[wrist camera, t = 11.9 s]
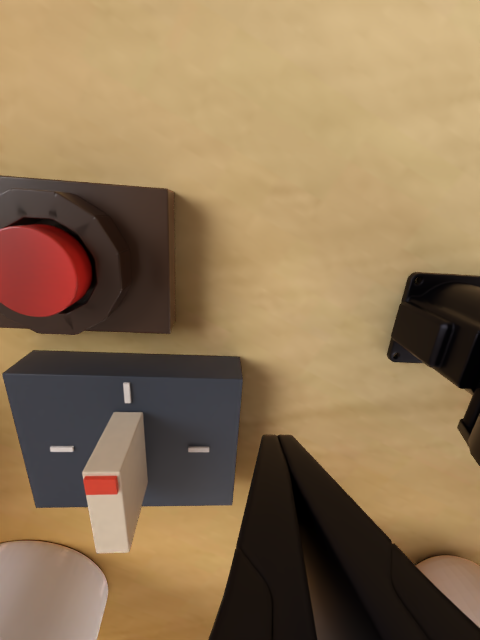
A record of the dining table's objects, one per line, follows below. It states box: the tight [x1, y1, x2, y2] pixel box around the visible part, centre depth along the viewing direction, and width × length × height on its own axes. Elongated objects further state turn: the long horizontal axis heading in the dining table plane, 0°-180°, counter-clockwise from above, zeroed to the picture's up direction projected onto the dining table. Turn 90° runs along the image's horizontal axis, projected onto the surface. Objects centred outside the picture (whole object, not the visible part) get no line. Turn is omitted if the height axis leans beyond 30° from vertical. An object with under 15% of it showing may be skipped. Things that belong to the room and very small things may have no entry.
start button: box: [0, 224, 93, 317], centre depth 13 cm, size 4×4×2 cm
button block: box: [0, 176, 175, 335], centre depth 16 cm, size 11×8×4 cm
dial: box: [82, 412, 148, 553], centre depth 17 cm, size 6×2×5 cm, turn 177°
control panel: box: [2, 350, 243, 508], centre depth 20 cm, size 14×11×3 cm
